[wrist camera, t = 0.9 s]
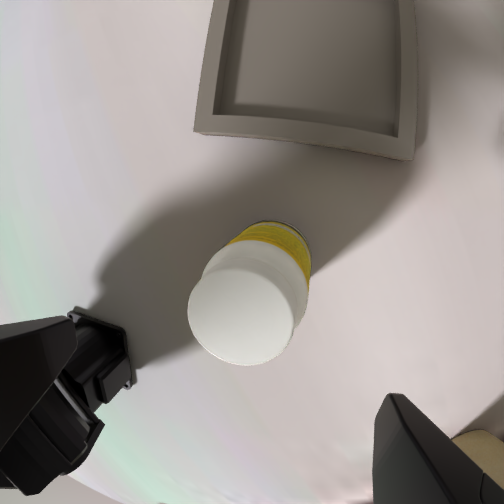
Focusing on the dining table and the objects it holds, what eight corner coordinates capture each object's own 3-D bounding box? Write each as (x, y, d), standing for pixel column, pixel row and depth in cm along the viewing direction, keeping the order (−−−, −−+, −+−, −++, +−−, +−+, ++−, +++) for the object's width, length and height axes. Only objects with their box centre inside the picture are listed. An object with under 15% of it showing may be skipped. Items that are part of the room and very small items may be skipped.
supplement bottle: (241, 211, 18) (183, 240, 10) (319, 228, 17) (321, 273, 10) (229, 284, 20) (173, 354, 12) (301, 302, 19) (288, 387, 11)
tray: (204, 135, 17) (193, 131, 16) (228, -20, 14) (221, -33, 12) (404, 161, 15) (413, 159, 14) (405, -3, 12) (411, -16, 10)
